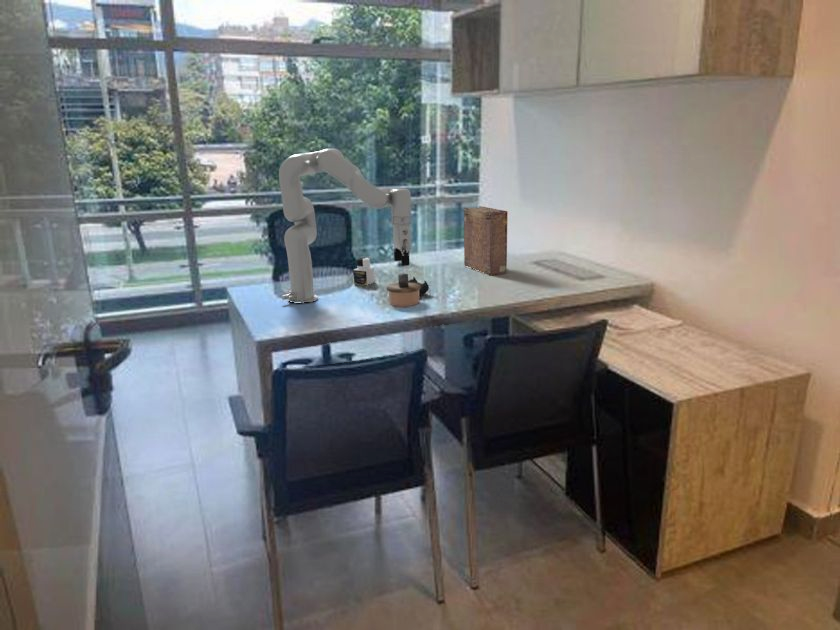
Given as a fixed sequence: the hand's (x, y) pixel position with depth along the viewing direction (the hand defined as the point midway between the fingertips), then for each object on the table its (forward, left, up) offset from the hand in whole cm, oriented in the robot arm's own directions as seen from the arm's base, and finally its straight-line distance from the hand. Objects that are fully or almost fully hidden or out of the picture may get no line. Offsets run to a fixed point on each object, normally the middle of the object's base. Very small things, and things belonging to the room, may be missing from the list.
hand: (401, 263), depth 252 cm
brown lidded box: (+69, +9, -17) cm, 72 cm away
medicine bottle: (+14, +38, -17) cm, 43 cm away
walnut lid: (0, 0, -11) cm, 11 cm away
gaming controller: (+13, +6, -17) cm, 22 cm away
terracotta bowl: (0, 0, -17) cm, 17 cm away
